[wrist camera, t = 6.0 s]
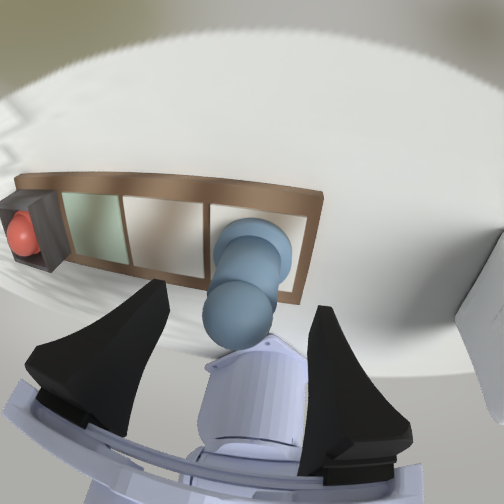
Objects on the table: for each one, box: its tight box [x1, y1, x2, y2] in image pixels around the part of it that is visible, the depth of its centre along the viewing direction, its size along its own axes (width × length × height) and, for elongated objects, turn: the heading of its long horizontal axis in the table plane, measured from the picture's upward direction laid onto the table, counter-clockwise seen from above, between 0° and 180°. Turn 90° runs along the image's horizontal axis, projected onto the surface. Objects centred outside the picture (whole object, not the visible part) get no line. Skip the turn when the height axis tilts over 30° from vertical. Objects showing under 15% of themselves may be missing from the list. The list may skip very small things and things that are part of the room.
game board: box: [0, 172, 324, 305], centre depth 17 cm, size 26×8×4 cm, turn 85°
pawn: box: [202, 218, 292, 350], centre depth 14 cm, size 5×5×7 cm
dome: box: [7, 210, 40, 256], centre depth 17 cm, size 4×4×4 cm
